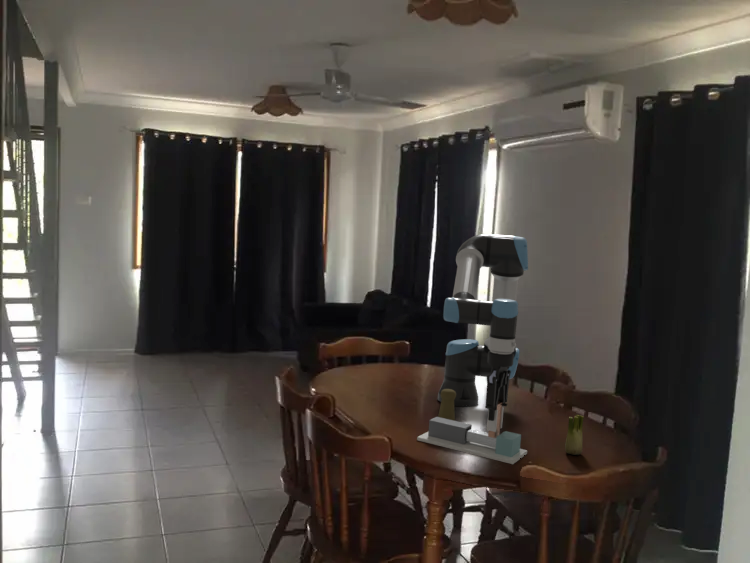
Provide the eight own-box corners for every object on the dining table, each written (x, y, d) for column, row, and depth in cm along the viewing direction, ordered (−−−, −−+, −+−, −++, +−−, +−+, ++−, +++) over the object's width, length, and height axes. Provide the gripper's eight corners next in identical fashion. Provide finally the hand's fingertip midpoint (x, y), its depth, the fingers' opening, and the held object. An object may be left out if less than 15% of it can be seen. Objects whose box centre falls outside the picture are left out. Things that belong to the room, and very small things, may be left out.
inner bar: (456, 438, 219) (459, 397, 217) (461, 435, 222) (465, 394, 221) (506, 451, 210) (510, 407, 209) (511, 447, 214) (515, 404, 213)
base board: (417, 440, 221) (417, 436, 221) (434, 431, 231) (434, 428, 231) (513, 464, 205) (513, 460, 205) (527, 453, 216) (527, 450, 216)
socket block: (495, 453, 211) (496, 436, 210) (503, 447, 217) (505, 431, 216) (511, 457, 208) (512, 440, 208) (519, 451, 214) (521, 434, 214)
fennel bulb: (566, 456, 216) (569, 417, 215) (560, 450, 221) (564, 412, 220) (584, 457, 216) (588, 418, 215) (579, 451, 221) (583, 413, 220)
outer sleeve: (428, 435, 223) (429, 420, 222) (435, 432, 227) (436, 416, 227) (463, 444, 217) (465, 428, 216) (470, 440, 221) (471, 424, 221)
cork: (456, 420, 245) (459, 388, 244) (452, 425, 240) (455, 392, 239) (439, 417, 247) (442, 386, 246) (435, 422, 242) (437, 390, 241)
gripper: (502, 357, 203) (495, 438, 205) (523, 349, 217) (516, 425, 220) (478, 353, 207) (471, 432, 209) (499, 346, 221) (493, 420, 223)
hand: (494, 428), depth 214 cm, fingers closed on inner bar, 4 cm apart
